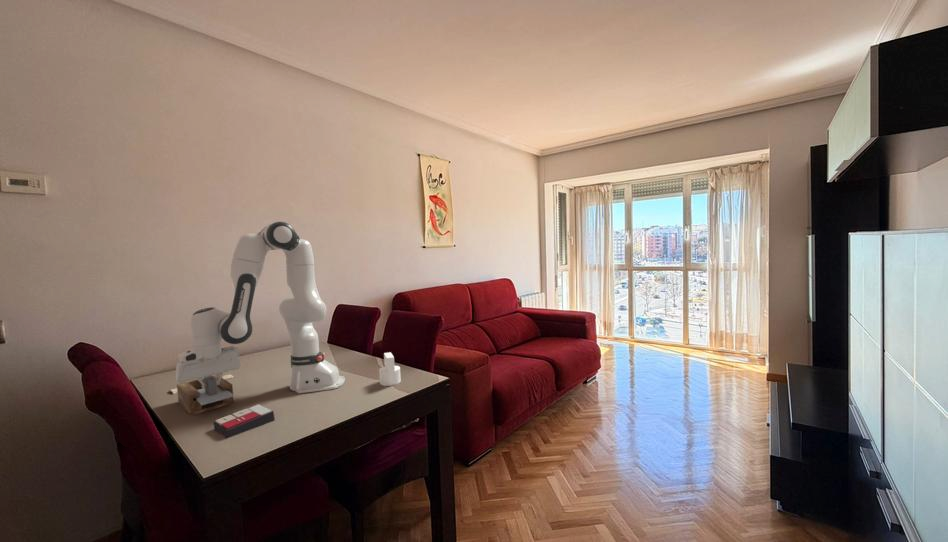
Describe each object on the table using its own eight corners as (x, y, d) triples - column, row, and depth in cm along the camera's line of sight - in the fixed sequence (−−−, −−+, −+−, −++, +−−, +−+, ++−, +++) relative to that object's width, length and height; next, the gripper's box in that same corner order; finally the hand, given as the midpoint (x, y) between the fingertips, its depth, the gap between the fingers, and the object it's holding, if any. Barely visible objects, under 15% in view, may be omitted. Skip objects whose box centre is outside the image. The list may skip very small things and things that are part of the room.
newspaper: (173, 395, 164) (173, 391, 164) (168, 392, 168) (167, 388, 168) (233, 379, 183) (233, 375, 183) (227, 376, 187) (227, 373, 187)
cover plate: (219, 386, 157) (218, 370, 156) (233, 396, 145) (231, 378, 144) (190, 393, 149) (188, 376, 149) (201, 405, 138) (199, 386, 137)
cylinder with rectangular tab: (402, 383, 166) (401, 356, 165) (381, 387, 163) (379, 359, 162) (398, 377, 174) (397, 351, 174) (378, 380, 171) (376, 354, 170)
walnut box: (218, 391, 165) (217, 374, 164) (233, 403, 152) (232, 384, 151) (178, 402, 155) (176, 384, 154) (190, 415, 141) (188, 395, 141)
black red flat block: (212, 420, 129) (259, 402, 141) (214, 432, 130) (260, 413, 141) (226, 428, 122) (273, 409, 134) (227, 441, 123) (275, 420, 135)
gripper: (236, 343, 155) (239, 377, 156) (172, 356, 140) (176, 393, 141) (241, 346, 151) (244, 380, 152) (176, 359, 136) (180, 397, 137)
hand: (211, 386), depth 147 cm, fingers closed on cover plate, 2 cm apart
